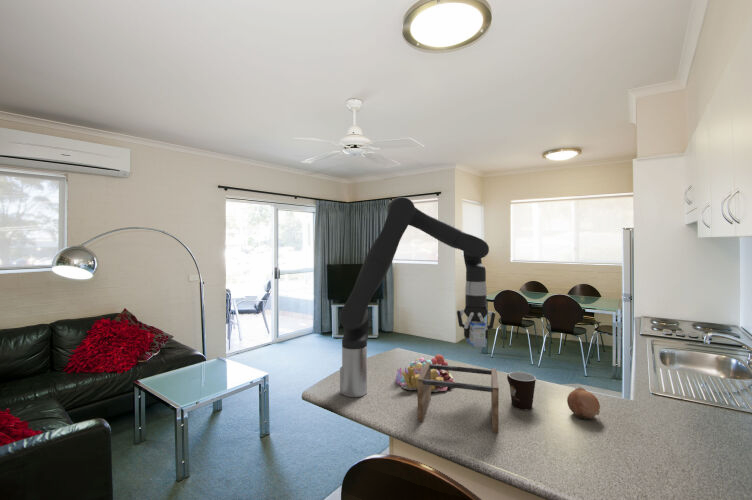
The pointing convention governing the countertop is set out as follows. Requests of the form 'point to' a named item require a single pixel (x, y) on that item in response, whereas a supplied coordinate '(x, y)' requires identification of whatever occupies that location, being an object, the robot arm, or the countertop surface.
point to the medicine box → (476, 334)
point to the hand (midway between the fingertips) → (475, 338)
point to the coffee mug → (521, 389)
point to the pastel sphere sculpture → (413, 372)
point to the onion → (583, 403)
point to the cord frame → (426, 383)
